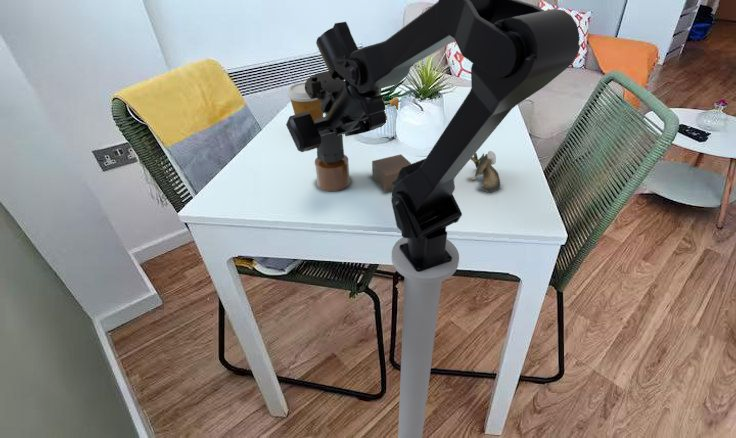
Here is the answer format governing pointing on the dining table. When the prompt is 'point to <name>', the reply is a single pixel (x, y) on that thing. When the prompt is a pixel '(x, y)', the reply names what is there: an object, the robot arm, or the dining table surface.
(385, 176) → the stand
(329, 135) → the cap
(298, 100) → the disposable coffee cup
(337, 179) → the bottle
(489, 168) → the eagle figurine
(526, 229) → the dining table surface
